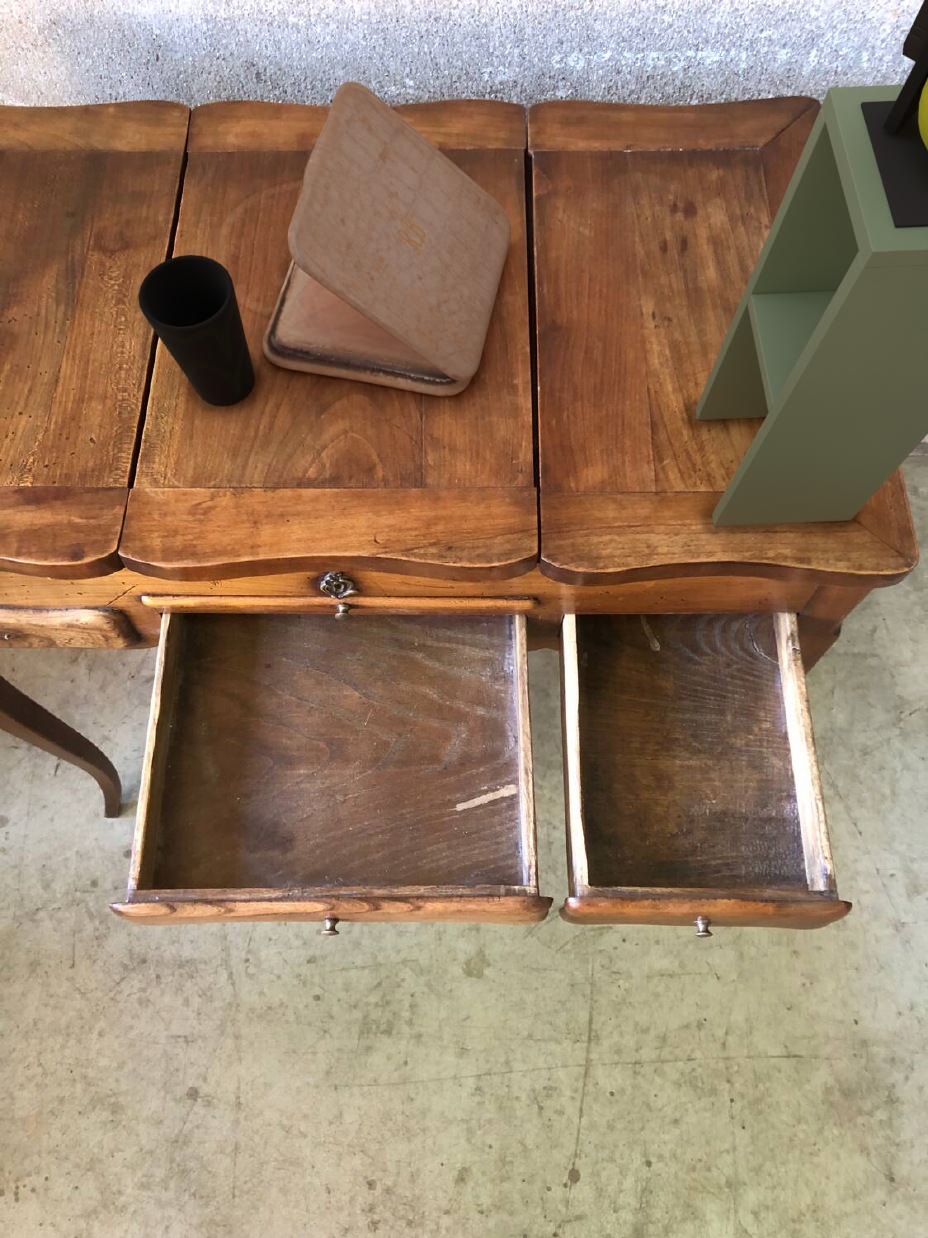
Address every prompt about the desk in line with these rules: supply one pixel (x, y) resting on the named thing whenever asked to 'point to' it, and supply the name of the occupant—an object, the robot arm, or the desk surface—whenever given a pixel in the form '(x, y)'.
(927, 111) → the ornament
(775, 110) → the desk surface
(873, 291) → the shelf
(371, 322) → the case
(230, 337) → the cup
